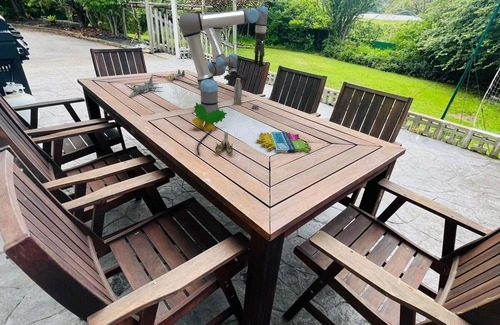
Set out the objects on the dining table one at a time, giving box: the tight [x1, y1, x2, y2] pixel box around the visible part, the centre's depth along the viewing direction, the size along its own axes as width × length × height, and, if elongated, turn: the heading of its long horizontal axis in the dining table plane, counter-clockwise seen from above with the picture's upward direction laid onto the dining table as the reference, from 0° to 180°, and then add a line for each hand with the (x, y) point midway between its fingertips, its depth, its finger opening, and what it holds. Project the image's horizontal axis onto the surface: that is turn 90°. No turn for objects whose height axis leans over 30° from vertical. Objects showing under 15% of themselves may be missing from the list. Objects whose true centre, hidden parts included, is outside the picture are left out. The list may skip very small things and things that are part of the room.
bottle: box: [233, 78, 243, 106], centre depth 210 cm, size 6×6×20 cm
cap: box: [252, 104, 259, 110], centre depth 206 cm, size 4×4×2 cm
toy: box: [160, 69, 186, 82], centre depth 280 cm, size 28×7×30 cm
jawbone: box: [214, 131, 234, 156], centre depth 136 cm, size 9×15×10 cm
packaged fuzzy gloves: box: [256, 131, 312, 154], centre depth 152 cm, size 26×2×30 cm
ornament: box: [191, 102, 228, 132], centre depth 162 cm, size 21×8×15 cm, turn 105°
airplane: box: [127, 74, 164, 98], centre depth 226 cm, size 38×31×10 cm
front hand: (258, 65), depth 191 cm, fingers open, 13 cm apart
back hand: (237, 80), depth 215 cm, fingers open, 13 cm apart
